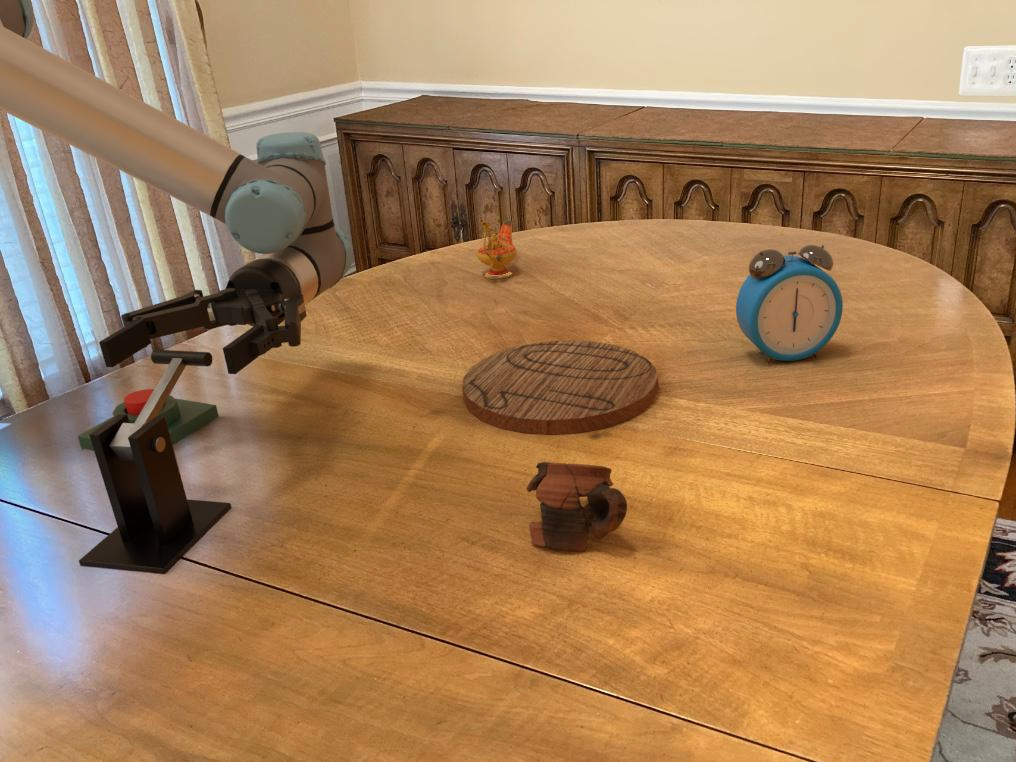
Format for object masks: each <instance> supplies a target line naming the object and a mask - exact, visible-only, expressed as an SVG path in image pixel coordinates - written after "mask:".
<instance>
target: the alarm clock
mask: <svg viewBox="0 0 1016 762" xmlns="http://www.w3.org/2000/svg"><path fill="white" fill-rule="evenodd" d="M787 254H788V255H784V254H783V253H782V252H781V251H780V250H778V249H775V248H767V249H763V250H760V251H758V252H757V253H756V254H755V255H753V257H752V258H751V260H750V261H749V264H748V272H749V274H748V275H747V277H746V278H745V280H744V281H743V283H742V285H741V286H740V289H739V291H738V294H737V298H736V303H735V315H736V320H737V323H738V327H739V328H740V330H741V332H742V333H743V334H744V336H745V337H746V338H747V339H748V340H749V341H750V342H751V343H752V344H753V345H754V346H755V347H756V348H757V349H758V350H759V351H760V352H761V353H763V355H765V356H767V357H768V359H767V361H766V364H768V365H769V364H771V362H772V361H773V360H776V361H780V362H795V361H800V360H804V359H807V358H809V357H811V356H813V358H815V359H816V358H817V353H818V352H819V351H820V350H822V349H823V348H824V347H825V346H826V345H827V344H828V343H829V342H830V341H831V339H832V338H833V337H834V335H835V334H836V332H837V330H838V328H839V327H840V326H839V325H840V323H841V320H842V316H843V309H844V308H843V307H844V305H843V296H842V292H841V290H840V287H839V286H838V284H837V282H836V281H835V280H834V278H833V277H832V276H831V275H830V274H828V273H827V272H826V271H829V272H831V271H832V269H833V267H834V258H833V255H832V254H831V253H830V252H829V251H828V250H827V249H826V248H825V245H824V244H821V245H818V244H806V245H805V246H803V247H801V248H800V249H799V250H798V252H797V251H796V250H795V251H788V252H787ZM797 255H798V256H797ZM823 269H824V270H826V271H824V270H823Z"/></svg>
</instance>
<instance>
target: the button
mask: <svg viewBox="0 0 1016 762" xmlns="http://www.w3.org/2000/svg"><path fill="white" fill-rule="evenodd" d="M154 389H155V388H154ZM154 389H153V388H147V389H140V390H136V391H132V392H131V393H127V395H126V396H125V397H123V403H124V402H125V406H126V409H127V412H128V414H130V415H140V413H141V411H142V409H143V408H144V406H145V404H146V403H147V401H148V399H149V398H150V396H151V394H152V393H153V391H154ZM163 407H164V405H163ZM163 407H162V408H163Z"/></svg>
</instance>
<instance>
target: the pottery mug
mask: <svg viewBox="0 0 1016 762" xmlns="http://www.w3.org/2000/svg"><path fill="white" fill-rule="evenodd" d="M535 467H536V469H537V474H535V475H534V477H532V478H531V480H530V481H529V482H528V485H527V486H526V491H527V492H528V493H531V492H532V491H533V492H534V491H535V497H536V500H538V502H540V504H539V505H540V517H541V521H533V520H532V521H531V522H530V523H529V534H530V539H531V545H534V546H537V547H545V548H553V549H555V550H562V551H575V552H583V551H584V552H585V551H586V550H587V541H588V539H589V535H590V534H591V535H592V536H593V537H594V538H595V539H597V540H601V539H604V538H605V537H606V536H608V534H609V533H611V532H612V533H613V532H614V531H616V530H617V529H618V528H619V527H620V526H621V525H622V524H623V522H624V520H625V518H626V515H627V512H628V503H627V499H626V497H625V495H624V494H623V493H622V492H621V491H620V490H619V489H617V488H614V487H613V488H612V486H614V483H613V481H612V480H611V474H612V468H609V467H606V466H602V465H595V464H582V463H581V464H580V463H563V462H549V461H543V462H541V461H540V462H538V463H537V464H536V466H535ZM585 497H586V500H587V504H585V505H582V504H581V500H580V498H585Z"/></svg>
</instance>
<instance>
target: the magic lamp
mask: <svg viewBox="0 0 1016 762" xmlns="http://www.w3.org/2000/svg"><path fill="white" fill-rule="evenodd" d="M513 222H514V221H513V220H505V221H503V222H502V225H501V227H500V229H499V231H498V233H497V235H496V233H492V228H491V226H490V223H489V222H488V221H484V220H482V221H481V223H480V226H481V228H483V230H484V234H483V246H482V247H480V248H479V249H477V251H476V257H477V259H478V261H480V262H481V263H482V264H483V265H486V266H489V269H488V270H487V271H488V272H487V271H486V272H487V273H488V274H489V275H503V274H506V273H508V272H509V270H510V269H508V268H506V267H505V265H508V264H510V263H512V262H513V261H514V259H516V256H517V248H516V247H515V246H514V244H513ZM486 240H488V242H487V241H486ZM486 242H487V243H488V244H486ZM486 272H484V273H483V277H484V278H487V279H490V280H491V279H492V280H502V279H507V278H510V277H512V276H514V272H513V271H512V274H511V275H510V276H507V277H502V278H490V277H486V276H485V275H484V274H485V273H486Z"/></svg>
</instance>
